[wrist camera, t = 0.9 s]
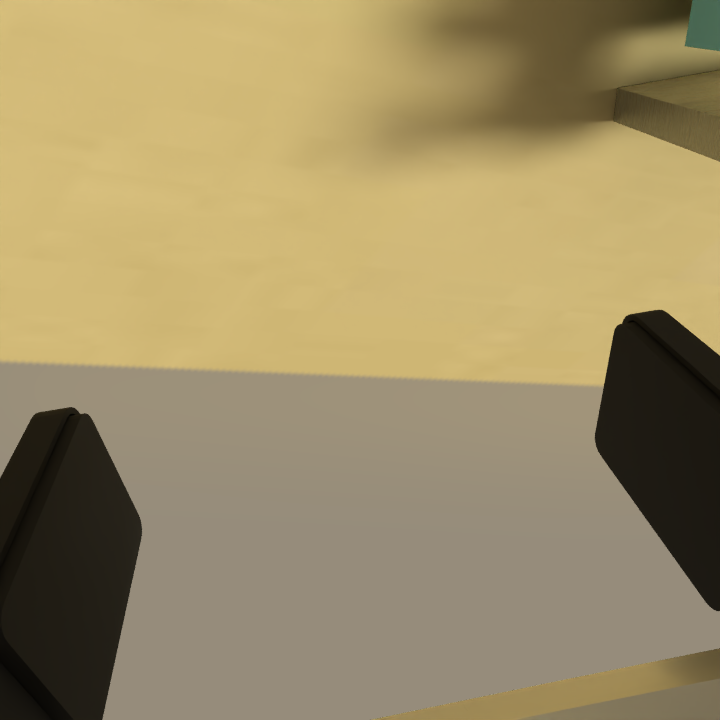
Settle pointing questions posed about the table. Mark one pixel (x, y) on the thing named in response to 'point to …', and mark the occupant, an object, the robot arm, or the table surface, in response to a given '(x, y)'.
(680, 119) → the pair of grey plates
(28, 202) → the table surface
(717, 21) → the spacer
